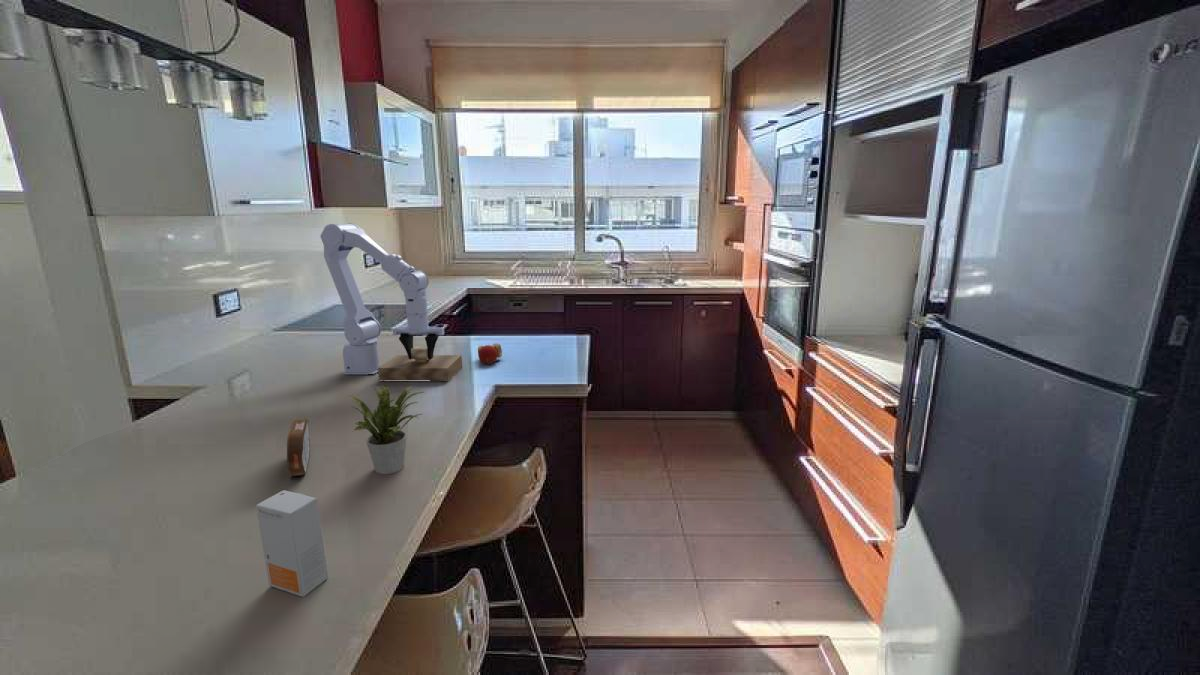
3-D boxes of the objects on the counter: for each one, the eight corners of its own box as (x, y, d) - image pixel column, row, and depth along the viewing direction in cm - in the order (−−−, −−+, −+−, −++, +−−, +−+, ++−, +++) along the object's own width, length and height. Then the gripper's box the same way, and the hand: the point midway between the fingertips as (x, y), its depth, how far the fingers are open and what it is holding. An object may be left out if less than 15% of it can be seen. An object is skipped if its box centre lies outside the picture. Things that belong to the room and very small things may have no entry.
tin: (297, 452, 111) (291, 413, 109) (314, 449, 112) (308, 410, 110) (288, 485, 97) (281, 441, 95) (308, 482, 98) (301, 438, 97)
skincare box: (268, 587, 71) (253, 504, 68) (296, 567, 75) (283, 488, 72) (302, 599, 69) (289, 513, 66) (330, 578, 73) (318, 496, 70)
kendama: (482, 355, 187) (471, 363, 170) (485, 337, 187) (474, 343, 169) (505, 359, 188) (496, 367, 170) (508, 341, 187) (499, 347, 169)
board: (379, 381, 155) (377, 368, 155) (398, 367, 169) (397, 355, 168) (448, 381, 155) (447, 368, 154) (462, 367, 168) (461, 355, 167)
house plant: (447, 468, 103) (441, 386, 99) (375, 495, 93) (365, 406, 90) (412, 446, 113) (405, 370, 109) (343, 468, 103) (332, 386, 99)
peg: (409, 370, 159) (407, 350, 158) (416, 365, 164) (415, 346, 163) (426, 370, 159) (425, 351, 157) (433, 365, 164) (432, 346, 162)
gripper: (386, 315, 154) (391, 362, 157) (437, 315, 153) (440, 362, 157) (396, 311, 161) (400, 355, 164) (445, 311, 160) (448, 355, 163)
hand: (421, 358), depth 161 cm, fingers closed on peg, 5 cm apart
